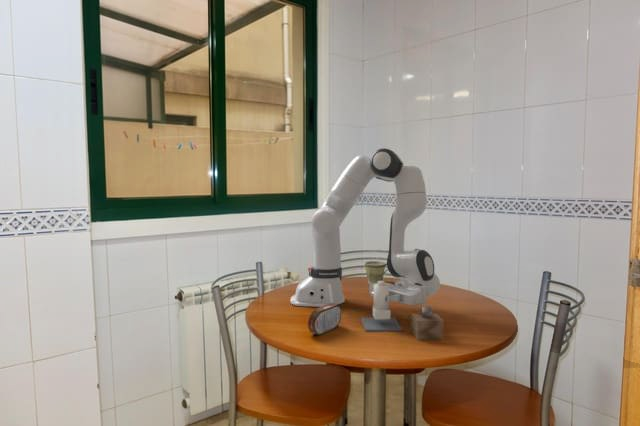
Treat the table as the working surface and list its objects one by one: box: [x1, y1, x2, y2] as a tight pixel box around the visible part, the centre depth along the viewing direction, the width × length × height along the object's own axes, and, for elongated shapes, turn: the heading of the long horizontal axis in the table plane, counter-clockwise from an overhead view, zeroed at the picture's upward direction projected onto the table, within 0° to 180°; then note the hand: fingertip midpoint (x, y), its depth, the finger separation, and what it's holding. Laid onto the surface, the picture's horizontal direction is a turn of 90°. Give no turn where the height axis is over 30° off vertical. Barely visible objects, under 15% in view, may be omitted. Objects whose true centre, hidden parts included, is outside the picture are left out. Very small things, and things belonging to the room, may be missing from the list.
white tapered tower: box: [372, 280, 391, 319], centre depth 139 cm, size 5×5×12 cm
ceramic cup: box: [364, 260, 389, 285], centre depth 199 cm, size 13×10×10 cm
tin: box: [307, 303, 342, 336], centre depth 134 cm, size 15×3×8 cm, turn 141°
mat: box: [360, 316, 403, 332], centre depth 140 cm, size 12×12×1 cm
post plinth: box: [410, 305, 444, 341], centre depth 130 cm, size 8×8×9 cm
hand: (379, 297), depth 138 cm, fingers closed on white tapered tower, 5 cm apart
